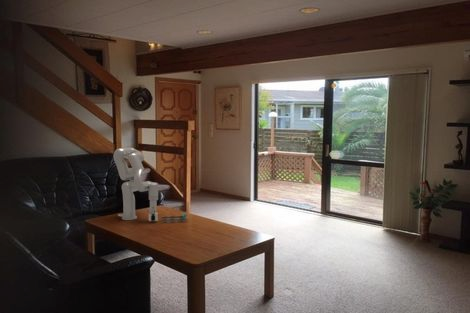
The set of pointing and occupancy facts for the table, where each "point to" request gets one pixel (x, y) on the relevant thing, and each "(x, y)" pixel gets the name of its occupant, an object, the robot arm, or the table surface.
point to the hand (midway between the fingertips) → (153, 219)
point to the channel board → (174, 219)
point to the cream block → (155, 216)
